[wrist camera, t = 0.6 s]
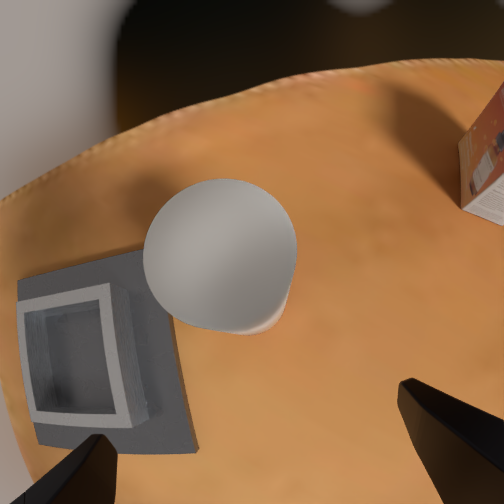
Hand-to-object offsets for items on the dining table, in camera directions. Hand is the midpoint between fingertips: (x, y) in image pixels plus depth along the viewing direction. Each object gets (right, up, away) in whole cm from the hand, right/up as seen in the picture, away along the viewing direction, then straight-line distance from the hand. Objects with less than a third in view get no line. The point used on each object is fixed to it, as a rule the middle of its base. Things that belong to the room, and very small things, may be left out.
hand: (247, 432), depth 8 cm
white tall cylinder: (0, +2, +15) cm, 15 cm away
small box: (+23, +12, +16) cm, 30 cm away
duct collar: (-13, -4, +15) cm, 20 cm away
